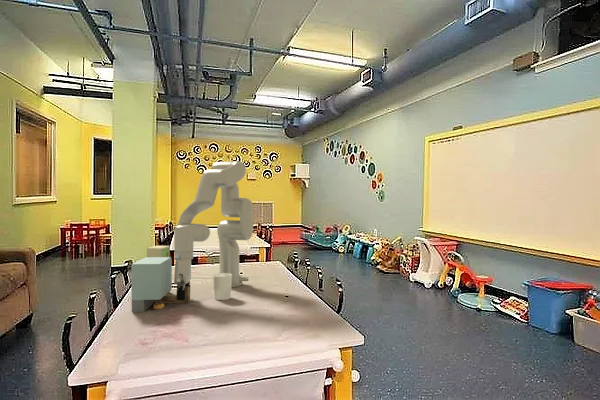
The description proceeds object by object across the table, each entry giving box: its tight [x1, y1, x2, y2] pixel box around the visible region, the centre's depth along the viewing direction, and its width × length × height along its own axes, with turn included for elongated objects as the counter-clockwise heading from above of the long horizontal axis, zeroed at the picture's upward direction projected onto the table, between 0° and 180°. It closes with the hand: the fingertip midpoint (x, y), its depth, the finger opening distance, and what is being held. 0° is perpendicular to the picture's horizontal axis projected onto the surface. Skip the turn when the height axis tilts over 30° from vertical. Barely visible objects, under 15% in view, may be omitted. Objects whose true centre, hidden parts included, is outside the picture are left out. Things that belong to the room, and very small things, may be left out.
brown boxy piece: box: [155, 285, 191, 304], centre depth 163 cm, size 13×4×6 cm, turn 93°
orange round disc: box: [153, 302, 165, 310], centre depth 156 cm, size 4×4×2 cm
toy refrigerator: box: [146, 245, 171, 293], centre depth 177 cm, size 8×7×21 cm
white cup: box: [212, 272, 232, 301], centre depth 170 cm, size 8×8×10 cm
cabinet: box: [130, 256, 173, 313], centre depth 158 cm, size 11×16×18 cm
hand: (183, 297), depth 163 cm, fingers open, 9 cm apart
